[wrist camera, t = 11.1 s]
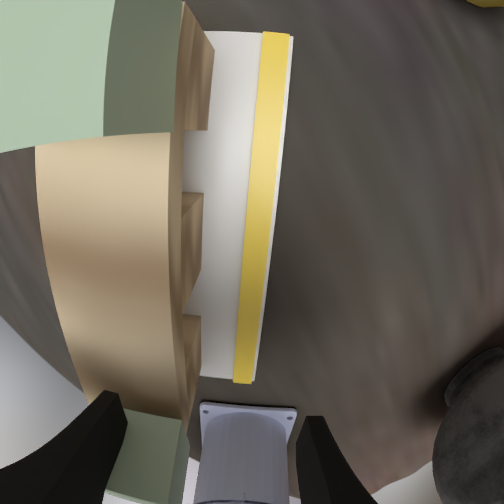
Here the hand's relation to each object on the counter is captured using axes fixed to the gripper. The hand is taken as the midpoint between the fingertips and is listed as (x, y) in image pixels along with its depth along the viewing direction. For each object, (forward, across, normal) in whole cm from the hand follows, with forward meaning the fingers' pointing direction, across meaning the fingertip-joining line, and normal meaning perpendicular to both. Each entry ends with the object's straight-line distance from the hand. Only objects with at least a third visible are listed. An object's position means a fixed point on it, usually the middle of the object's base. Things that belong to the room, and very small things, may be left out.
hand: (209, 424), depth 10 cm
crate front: (+1, +4, -12) cm, 12 cm away
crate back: (+1, +3, +3) cm, 5 cm away
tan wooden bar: (+7, +4, -5) cm, 10 cm away
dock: (+9, +4, -5) cm, 11 cm away
